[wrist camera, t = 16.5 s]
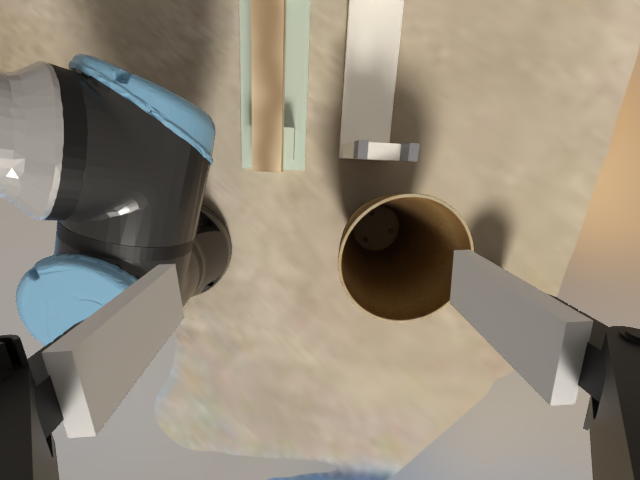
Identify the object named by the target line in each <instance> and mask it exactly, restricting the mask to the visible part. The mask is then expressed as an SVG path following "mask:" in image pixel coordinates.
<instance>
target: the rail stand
mask: <svg viewBox="0 0 640 480" xmlns="http://www.w3.org/2000/svg"><path fill="white" fill-rule="evenodd" d="M403 5H404V0H349V3H348V19H347V35H346V51H345V67H344V83H343V99H342V115H341V131H340V148H339V158H345V159H365V160H385V161H388V160H395V161H414V162H418V154H419V146H420V143H404V144H395V143H389V142H390V132H391V122H392V112H393V103H394V93H395V83H396V73H397V64H398V54H399V44H400V34H401V24H402V15H403Z"/></svg>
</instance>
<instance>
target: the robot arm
mask: <svg viewBox="0 0 640 480" xmlns="http://www.w3.org/2000/svg"><path fill="white" fill-rule="evenodd" d="M69 69H70V70H68V69H65V68H62V67H59V66H56V65H53V64H50V63H47V62H44V61H38V62H36V63H34V64H31V65H29V66H27V67H24V68H22V69H20V70H17V71H15V72H7V73H4V72H0V197H2V198H4V199H6V200H9V201H11V202H12V203H14V204H15V205H16V206H18V207H19V208H20V209H22V210H23V211H24V212H26V213H27V214H28V215H29V216H31V217H32V218H33V219H38V220H58V222H57V232H56V242H55V252H54V255H52V256H50V257H47V258H44V259H42V260H40V261H39V262H37V263H36V264H35V266H34V267H33V268H32V269H30V270H29V271H28V272H26V273H25V275H24V276H23V277H22V279H21V281H20V283H19V285H18V288H17V292H16V303H17V309H18V313H19V316H20V318H21V320H22V322H23V324H24V325H25V327H26V329H27V330H28V331H29V332H30V334H31V335H32V336H33V337H34V338H35V339H37V340H39V341H40V342H42V344H43V345H44V346H45V347H43V348H42V349H41V350H39V351H38V352H36V353H35V354H34V355H32V356H31V357H30V358H28V359H27V357H26V354H25V351H24V348H23V345H22V342H21V340H20V338H19V337H18V336H17V335H3V336H0V480H59V473H58V465H57V456H56V448H55V442H54V439H53V436H52V432H53V431H54V429H56V427H57V426H58V425H59V424H60V423H61V422H62V421H63V423H64V426H65V430H66V433H67V436H68V438H75V437H89V436H97V434H98V433H99V432H100V430H101V429H102V427H103V426H104V424H105V423H106V422H107V421H108V419H109V418H110V417H111V415H112V414H113V412H114V411H115V410H116V409H117V407H118V406H119V404H120V403H121V402H122V400H123V399H124V398H125V396H126V395H127V394H128V392H129V391H130V390H131V388H132V387H133V386H134V384H135V383H136V381H137V380H138V379H139V378H140V376H141V375H142V374H143V372H144V371H145V369H146V368H147V367H148V365H149V364H150V362H151V361H152V360H153V359H154V357H155V356H156V355H157V353H158V352H159V350H160V349H161V348H162V347H163V345H164V344H165V343H166V341H167V340H168V338H169V337H170V336H171V334H172V333H173V332H174V330H175V329H176V328H177V326H178V325H179V324H180V322H181V321H182V320H183V318H184V313H183V306H184V305H185V304H186V302H187V301H188V300H189V299H190V297H193V296H196V295H199V294H201V293H203V292H205V291H207V290H209V289H210V288H212V287H213V286H214V285H215V284H216V283H217V282H218V281H219V280H220V279H221V277H222V276H223V275H224V273H225V272H226V270H227V268H228V266H229V263H230V260H231V254H232V245H231V239H230V236H229V233H228V231H227V229H226V227H225V225H224V223H223V222H222V221H221V219H220V218H219V217H218V216H217V215H216V214H215V213H214V212H213V211H212V210H210V209H209V208H207V207H206V206H204V205H202V202H203V197H204V192H205V187H206V182H207V177H208V172H209V168H210V166H212V165H213V159H212V152H213V146H214V139H215V125H214V123H213V121H212V119H211V117H210V116H209V115H208V114H207V113H206V112H205V111H204V110H202V109H201V108H200V107H198V106H196V105H195V104H193V103H191V102H190V101H188V100H186V99H185V98H183V97H181V96H179V95H177V94H175V93H173V92H171V91H169V90H167V89H165V88H163V87H161V86H159V85H157V84H155V83H153V82H151V81H149V80H147V79H145V78H142V77H140V76H138V75H136V74H130V73H128V72H127V71H125V70H123V69H120V68H118V67H116V66H114V65H113V64H111V63H108V62H106V61H103V60H100V59H98V58H95V57H92V56H88V55H83V54H77V55H75V56H74V58H73V60H72V61H70V62H69ZM450 304H451V305H452V306H453V307H454V308H455V309H456V310H457V311H458V312H459V313H460V314H461V315H462V316H463V317H464V318H465V319H466V320H467V321H468V322H469V323H470V324H471V325H472V326H473V327H474V328H475V329H476V330H477V331H478V332H479V333H480V334H481V335H482V336H483V337H484V338H485V339H486V340H487V342H488V343H489V344H490V345H491V346H492V347H493V348H494V349H495V350H496V351H497V352H498V353H499V354H500V355H501V356H502V357H503V358H504V359H505V360H506V361H507V362H508V363H509V364H510V365H511V366H512V367H513V368H514V369H515V370H516V371H517V372H518V373H519V374H520V375H521V376H522V377H523V378H524V379H525V380H526V381H527V382H528V383H529V385H531V386H532V387H533V389H534V390H535V391H536V392H537V393H538V394H539V395H540V396H541V397H542V398H543V399H544V400H545V401H546V402H547V403H548V404H549V405H550V406H551V405H565V404H575V402H576V397H577V393H578V389H579V386H580V387H582V388H583V389H584V390H585V391H586V392H587V393H589V394H590V395H591V397H590V401H589V405H588V410H587V414H586V418H585V422H584V427H583V429H586V430H588V429H589V428H590V441H591V457H592V470H593V471H592V472H593V480H640V329H636V328H631V327H625V326H612V327H608V326H606V325H604V324H602V323H600V322H599V321H597V320H595V319H594V318H592V317H590V316H588V315H587V314H585V313H583V312H581V311H578V309H576V308H574V307H572V306H571V305H568V304H567V303H565V302H564V301H562V300H560V299H558V298H557V297H554V296H552V295H549V294H546V293H544V292H543V291H541V290H539V289H537V288H536V287H534V286H532V285H530V284H529V283H527V282H525V281H524V280H522V279H520V278H518V277H517V276H515V275H513V274H511V273H510V272H508V271H506V270H504V269H503V268H501V267H499V266H497V265H496V264H494V263H492V262H491V261H489V260H487V259H485V258H484V257H482V256H480V255H478V254H477V253H475V252H473V251H471V250H454V257H453V269H452V281H451V293H450Z"/></svg>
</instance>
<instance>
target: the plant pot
mask: <svg viewBox="0 0 640 480" xmlns="http://www.w3.org/2000/svg"><path fill="white" fill-rule="evenodd" d="M370 212H371V213H372V214H371V215H370ZM390 229H392V231H390ZM365 239H367V241H364V240H365ZM454 250H471V251H473V252H474V246H473V240H472V236H471V233H470V230H469V228H468V226H467V224H466V222H465V221H464V219H463V218H462V216H461V215H460V214H459V213H458V212H457V211H456V210H455V209H454V208H453V207H452V206H450V205H449V204H447V203H446V202H444V201H442V200H440V199H438V198H435V197H432V196H429V195H424V194H414V193H399V194H390V195H385V196H381V197H377V198H375V199H372V200H370V201H368V202H366V203H365V204H363V205H362V206H360V207H359V208H358V209H357V210H356V211H355V212H354V213H353V214H352V216H351V217H350V219H349V220H348V222H347V224H346V226H345V228H344V231H343V234H342V237H341V242H340V248H339V256H338V271H339V277H340V280H341V284H342V286H343V288H344V290H345V292H346V294H347V296H348V297H349V299H350V300H351V301H352V302H353V303H354V304H355V305H356V306H357V307H358V308H359V309H360V310H362V311H363V312H364V313H366V314H368V315H370V316H372V317H374V318H377V319H380V320H383V321H387V322H396V323H404V322H412V321H417V320H420V319H423V318H426V317H429V316H431V315H433V314H435V313H437V312H438V311H440V310H442V309H443V308H444V307H446V306H447V305H448V304H449V303H450V293H451V281H452V269H453V257H454Z"/></svg>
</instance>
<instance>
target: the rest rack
mask: <svg viewBox="0 0 640 480" xmlns="http://www.w3.org/2000/svg"><path fill="white" fill-rule="evenodd" d="M239 16H240V78H241V139H242V168H252V85H251V0H239ZM309 27H310V0H286V44H285V100H284V157H283V170H301V171H304V170H305V142H306V113H307V85H308V56H309Z"/></svg>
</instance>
